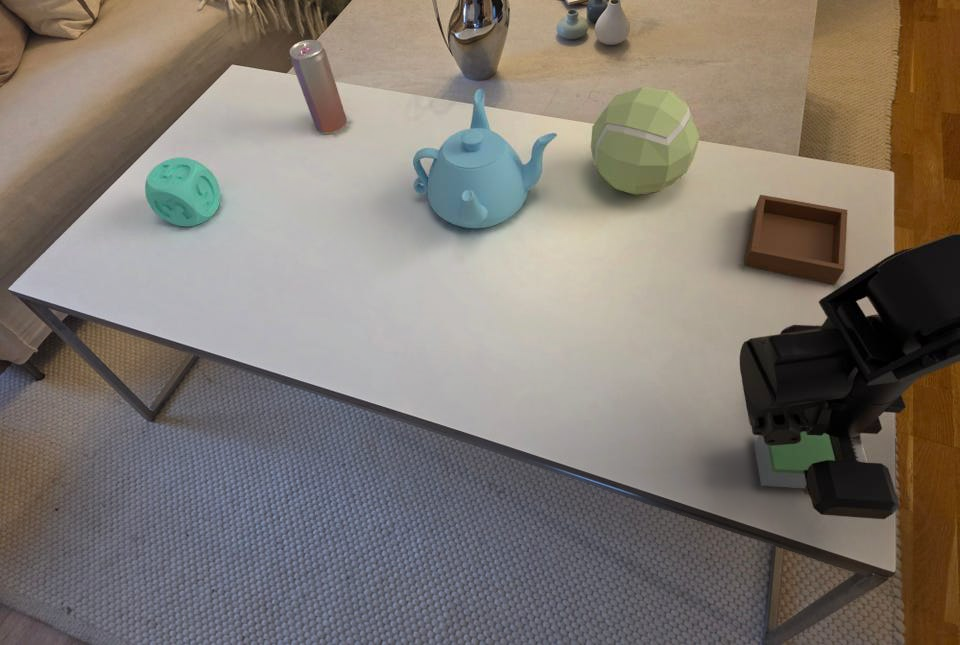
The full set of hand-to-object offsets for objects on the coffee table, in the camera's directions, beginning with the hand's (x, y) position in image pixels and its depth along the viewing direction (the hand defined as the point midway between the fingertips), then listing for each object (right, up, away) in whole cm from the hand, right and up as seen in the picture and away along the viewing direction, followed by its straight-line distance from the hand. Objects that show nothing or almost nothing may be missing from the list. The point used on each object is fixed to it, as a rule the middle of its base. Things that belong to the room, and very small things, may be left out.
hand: (799, 450), depth 62 cm
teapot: (-33, +33, +33) cm, 57 cm away
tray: (+11, +24, +22) cm, 34 cm away
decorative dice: (-82, +32, +37) cm, 95 cm away
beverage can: (-61, +50, +48) cm, 93 cm away
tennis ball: (-9, +36, +32) cm, 49 cm away
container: (0, -3, +3) cm, 4 cm away
